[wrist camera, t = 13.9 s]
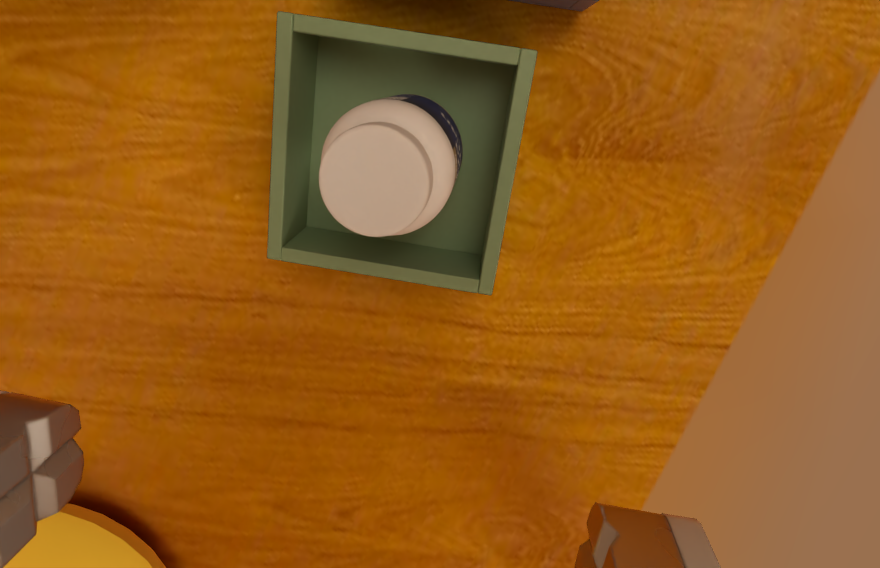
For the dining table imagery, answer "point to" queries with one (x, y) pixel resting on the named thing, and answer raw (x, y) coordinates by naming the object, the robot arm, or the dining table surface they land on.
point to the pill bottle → (390, 165)
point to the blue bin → (562, 3)
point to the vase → (84, 543)
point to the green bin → (379, 76)
